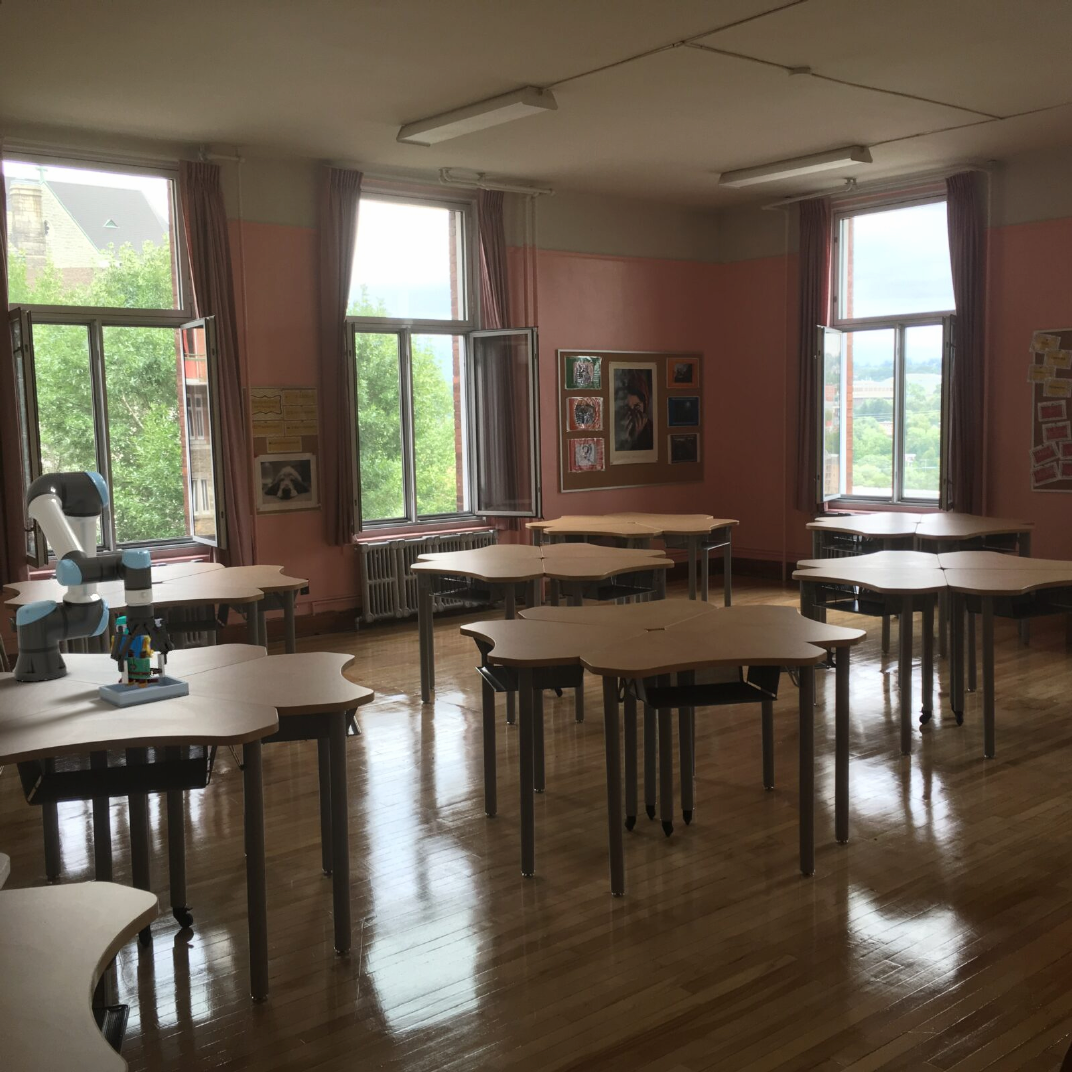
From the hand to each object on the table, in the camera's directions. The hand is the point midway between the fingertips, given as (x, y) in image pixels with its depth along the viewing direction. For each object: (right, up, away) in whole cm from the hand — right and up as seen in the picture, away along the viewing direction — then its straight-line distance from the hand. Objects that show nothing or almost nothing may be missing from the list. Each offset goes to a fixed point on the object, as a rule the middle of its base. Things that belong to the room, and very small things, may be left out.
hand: (143, 679), depth 313 cm
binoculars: (0, -2, 0) cm, 2 cm away
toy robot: (-8, -4, +15) cm, 17 cm away
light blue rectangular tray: (0, -5, +1) cm, 5 cm away
